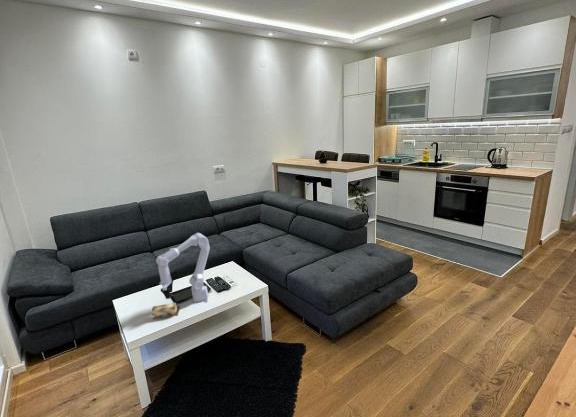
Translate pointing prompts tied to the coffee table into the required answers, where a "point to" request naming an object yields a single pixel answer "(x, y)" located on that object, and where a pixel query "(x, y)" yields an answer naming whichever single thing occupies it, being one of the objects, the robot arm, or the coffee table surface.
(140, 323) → the coffee table surface
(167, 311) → the beech bar
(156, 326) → the coffee table surface
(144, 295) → the coffee table surface
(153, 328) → the coffee table surface
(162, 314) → the gray stepped block
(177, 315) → the board
